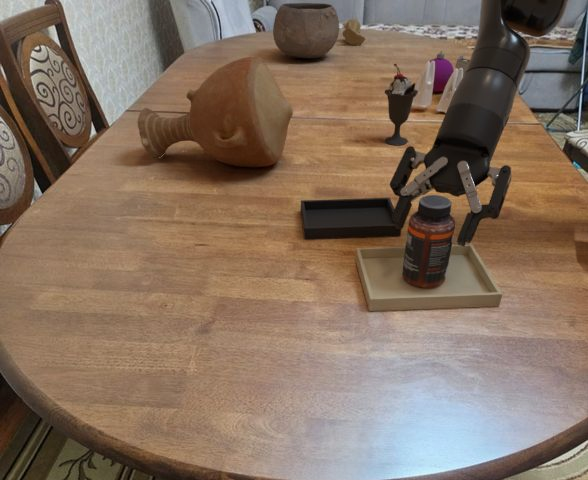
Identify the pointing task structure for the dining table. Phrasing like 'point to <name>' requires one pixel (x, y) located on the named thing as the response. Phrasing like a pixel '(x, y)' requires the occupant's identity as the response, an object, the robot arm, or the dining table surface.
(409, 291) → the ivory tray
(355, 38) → the cat figurine
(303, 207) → the charcoal tray
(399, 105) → the sundae
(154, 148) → the jug
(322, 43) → the clay pot
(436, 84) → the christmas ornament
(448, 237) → the supplement bottle
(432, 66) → the shaker set
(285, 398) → the dining table surface
